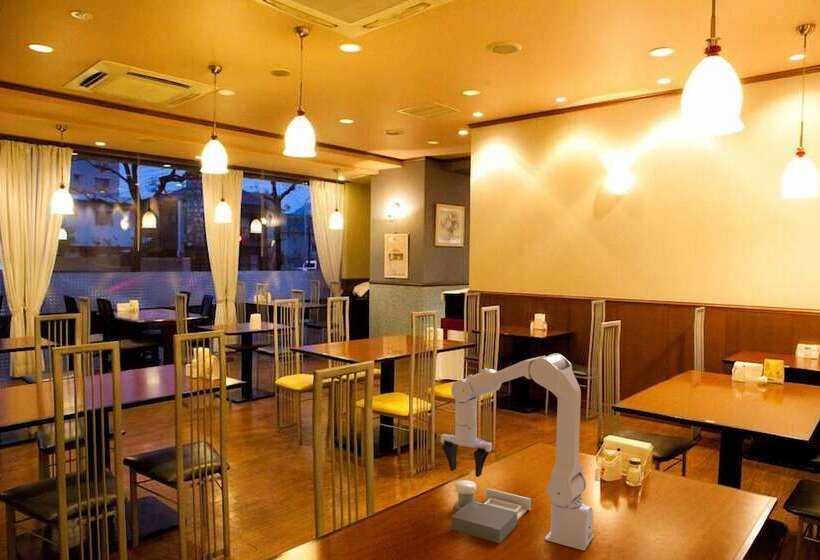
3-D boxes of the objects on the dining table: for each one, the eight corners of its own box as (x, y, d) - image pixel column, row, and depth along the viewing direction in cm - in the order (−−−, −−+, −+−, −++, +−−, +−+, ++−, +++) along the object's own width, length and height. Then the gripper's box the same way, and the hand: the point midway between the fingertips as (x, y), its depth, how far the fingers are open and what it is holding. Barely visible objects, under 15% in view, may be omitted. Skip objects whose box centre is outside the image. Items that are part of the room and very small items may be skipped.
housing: (517, 525, 145) (517, 511, 145) (499, 543, 136) (499, 529, 136) (470, 512, 152) (470, 500, 152) (451, 529, 143) (451, 516, 143)
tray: (530, 510, 154) (530, 498, 154) (514, 526, 145) (515, 514, 145) (487, 499, 161) (487, 488, 161) (469, 514, 151) (469, 502, 151)
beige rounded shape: (479, 488, 157) (479, 483, 157) (470, 496, 152) (470, 490, 152) (461, 484, 160) (461, 478, 160) (451, 491, 155) (451, 485, 155)
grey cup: (480, 505, 157) (480, 488, 157) (470, 513, 152) (470, 496, 152) (460, 500, 160) (460, 484, 160) (450, 508, 155) (450, 491, 155)
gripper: (496, 423, 155) (496, 473, 155) (449, 415, 162) (449, 462, 163) (485, 430, 149) (485, 482, 149) (436, 421, 156) (436, 470, 157)
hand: (465, 472), depth 156 cm, fingers open, 7 cm apart
